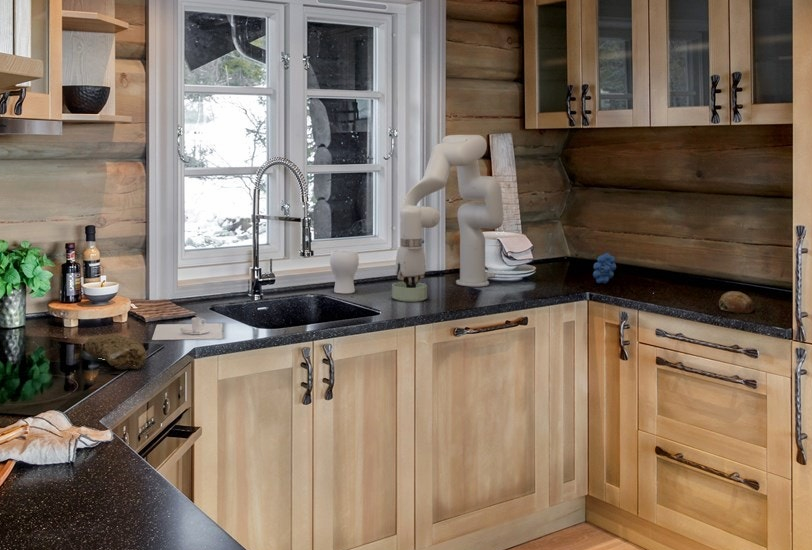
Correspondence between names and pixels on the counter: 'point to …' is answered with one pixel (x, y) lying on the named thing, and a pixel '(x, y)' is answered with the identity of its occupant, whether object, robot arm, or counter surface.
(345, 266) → the cup
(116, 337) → the sponge
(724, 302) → the bread roll
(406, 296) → the bowl
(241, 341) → the counter surface
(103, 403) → the counter surface
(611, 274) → the grapes
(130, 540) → the counter surface
